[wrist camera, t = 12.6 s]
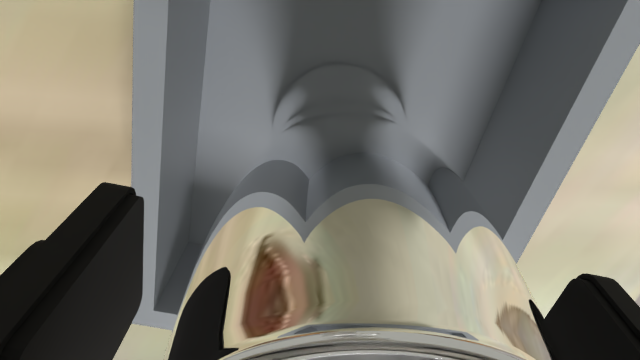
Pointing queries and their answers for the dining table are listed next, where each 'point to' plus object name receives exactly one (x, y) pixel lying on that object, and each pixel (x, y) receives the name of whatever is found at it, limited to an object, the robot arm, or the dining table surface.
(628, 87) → the dining table surface
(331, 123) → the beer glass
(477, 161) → the box
